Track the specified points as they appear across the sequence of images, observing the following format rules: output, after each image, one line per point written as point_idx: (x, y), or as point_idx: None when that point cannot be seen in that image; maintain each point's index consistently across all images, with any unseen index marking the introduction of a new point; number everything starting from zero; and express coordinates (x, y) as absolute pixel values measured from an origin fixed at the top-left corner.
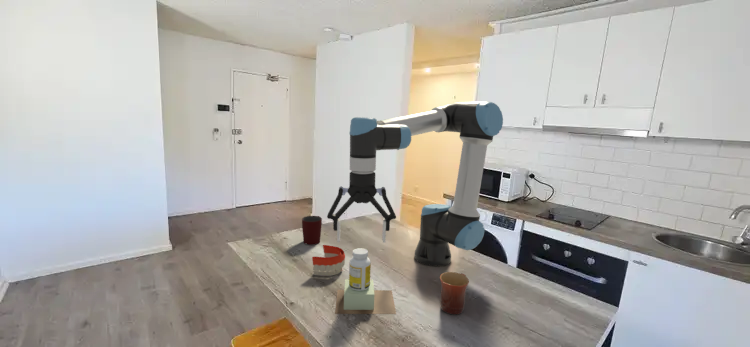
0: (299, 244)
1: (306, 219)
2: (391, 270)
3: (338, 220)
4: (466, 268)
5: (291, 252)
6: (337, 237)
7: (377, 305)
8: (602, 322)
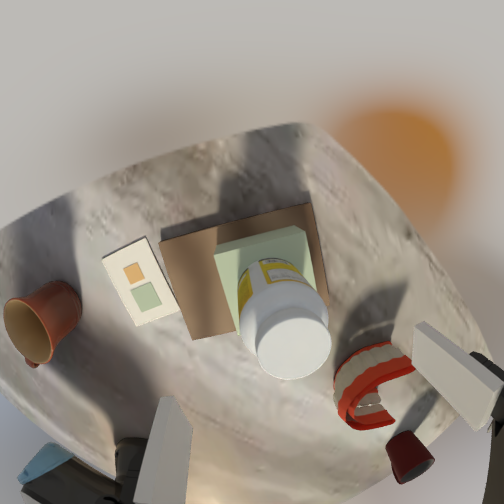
0: (418, 424)
1: (423, 466)
2: (219, 418)
3: (494, 399)
4: (87, 431)
5: (431, 397)
6: (438, 333)
7: (211, 266)
8: None
